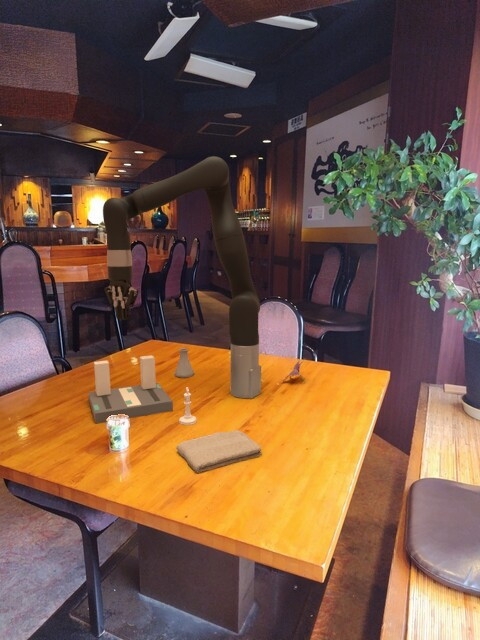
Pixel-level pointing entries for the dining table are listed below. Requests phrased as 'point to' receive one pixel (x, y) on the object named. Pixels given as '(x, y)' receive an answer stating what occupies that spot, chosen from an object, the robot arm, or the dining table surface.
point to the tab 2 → (147, 372)
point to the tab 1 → (102, 378)
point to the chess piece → (187, 411)
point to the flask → (184, 365)
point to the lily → (296, 370)
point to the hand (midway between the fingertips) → (122, 318)
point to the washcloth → (218, 450)
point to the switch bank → (130, 402)
